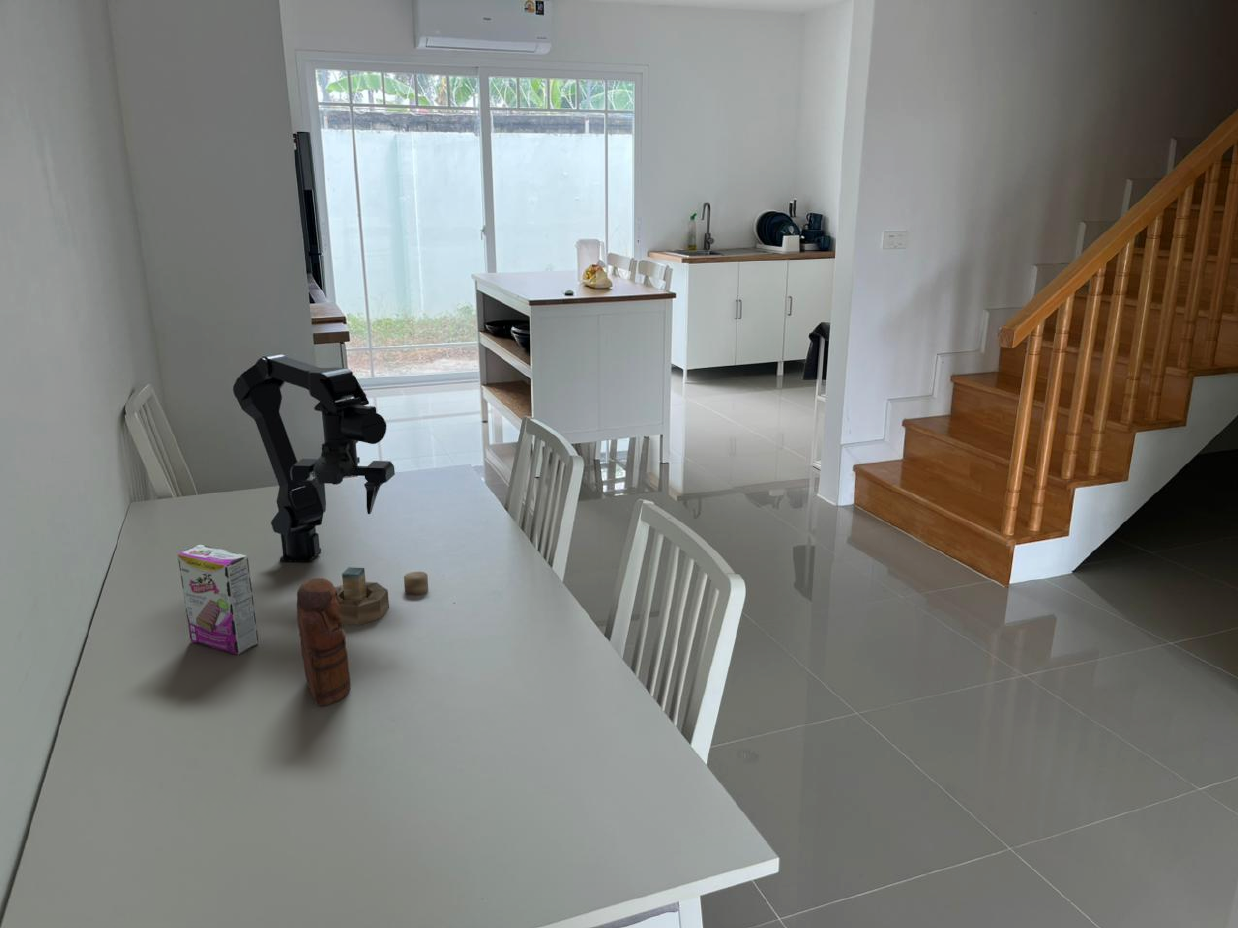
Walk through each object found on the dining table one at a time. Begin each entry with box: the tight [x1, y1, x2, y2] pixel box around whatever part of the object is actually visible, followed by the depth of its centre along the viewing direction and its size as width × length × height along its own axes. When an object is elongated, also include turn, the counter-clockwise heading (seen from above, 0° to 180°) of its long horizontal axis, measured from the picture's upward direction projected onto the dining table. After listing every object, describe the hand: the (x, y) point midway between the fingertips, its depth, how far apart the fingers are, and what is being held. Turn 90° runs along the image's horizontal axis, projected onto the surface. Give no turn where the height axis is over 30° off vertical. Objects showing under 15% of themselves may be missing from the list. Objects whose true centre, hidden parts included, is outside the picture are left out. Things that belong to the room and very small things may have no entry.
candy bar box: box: [177, 544, 259, 656], centre depth 157 cm, size 11×5×16 cm, turn 65°
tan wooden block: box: [341, 566, 367, 601], centre depth 170 cm, size 3×3×8 cm
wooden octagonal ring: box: [334, 581, 390, 626], centre depth 171 cm, size 10×10×4 cm
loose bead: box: [403, 571, 429, 596], centre depth 180 cm, size 4×4×3 cm
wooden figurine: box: [296, 577, 351, 706], centre depth 144 cm, size 12×6×18 cm, turn 26°
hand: (346, 512), depth 183 cm, fingers open, 9 cm apart
